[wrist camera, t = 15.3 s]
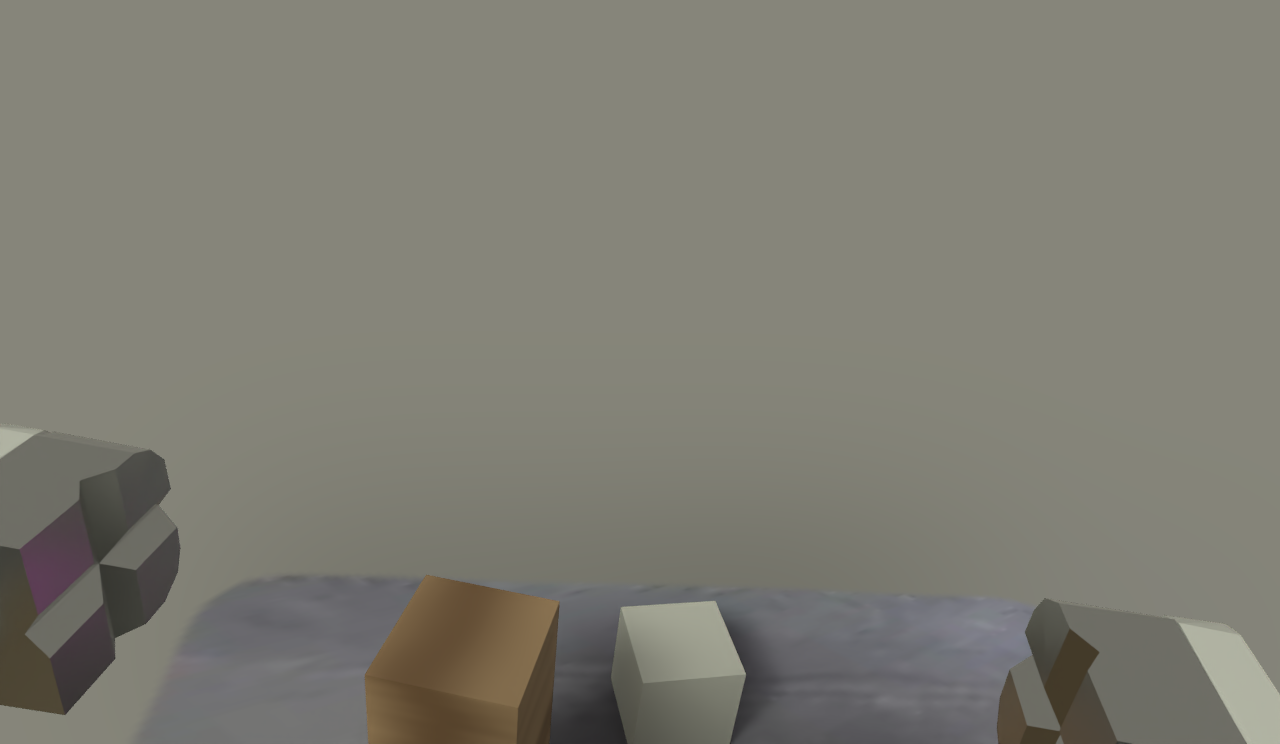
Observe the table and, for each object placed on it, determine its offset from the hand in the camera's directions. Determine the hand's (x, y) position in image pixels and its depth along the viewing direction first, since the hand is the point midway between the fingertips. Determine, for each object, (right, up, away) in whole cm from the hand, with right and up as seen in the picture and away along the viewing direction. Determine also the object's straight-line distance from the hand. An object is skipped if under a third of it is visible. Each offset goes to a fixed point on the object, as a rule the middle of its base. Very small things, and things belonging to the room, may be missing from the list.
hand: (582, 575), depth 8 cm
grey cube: (+2, -16, +38) cm, 41 cm away
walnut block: (-6, -15, +26) cm, 30 cm away
